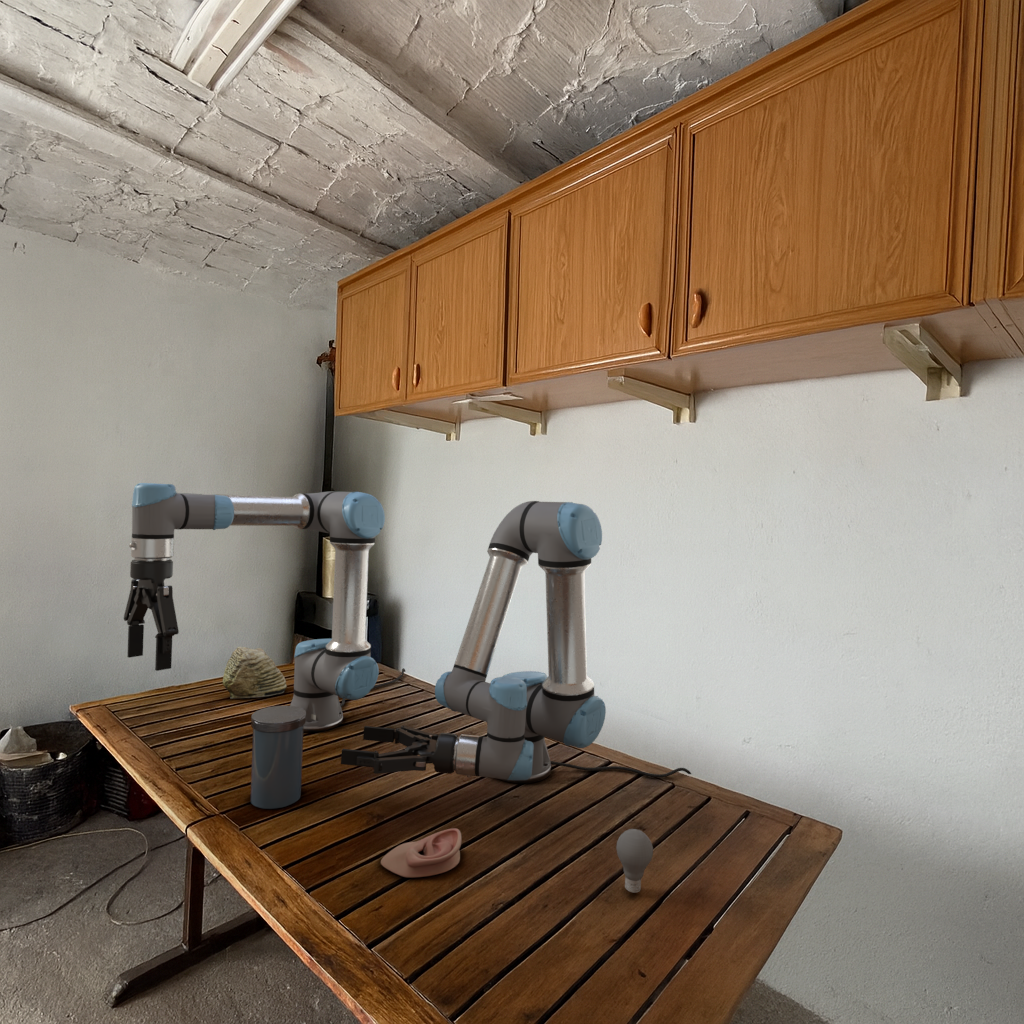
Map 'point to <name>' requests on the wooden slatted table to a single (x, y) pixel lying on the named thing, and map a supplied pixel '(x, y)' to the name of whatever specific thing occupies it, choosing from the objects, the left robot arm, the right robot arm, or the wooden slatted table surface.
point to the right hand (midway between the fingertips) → (353, 743)
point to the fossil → (252, 674)
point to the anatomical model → (425, 855)
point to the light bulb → (634, 857)
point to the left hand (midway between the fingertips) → (148, 662)
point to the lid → (278, 719)
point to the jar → (276, 768)
